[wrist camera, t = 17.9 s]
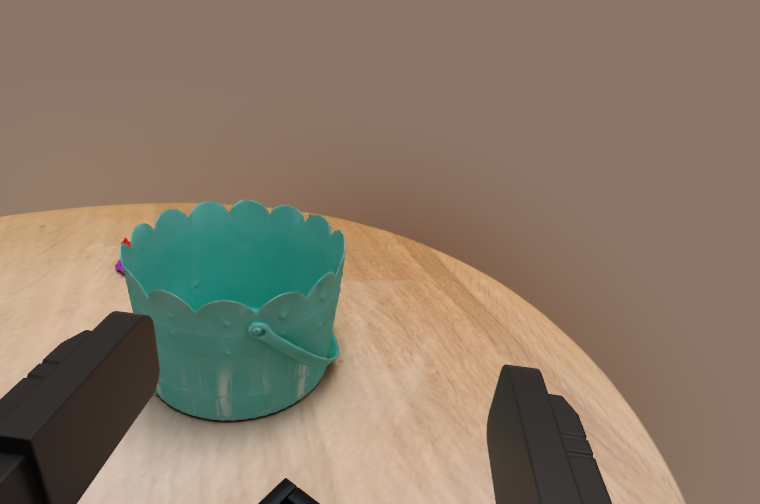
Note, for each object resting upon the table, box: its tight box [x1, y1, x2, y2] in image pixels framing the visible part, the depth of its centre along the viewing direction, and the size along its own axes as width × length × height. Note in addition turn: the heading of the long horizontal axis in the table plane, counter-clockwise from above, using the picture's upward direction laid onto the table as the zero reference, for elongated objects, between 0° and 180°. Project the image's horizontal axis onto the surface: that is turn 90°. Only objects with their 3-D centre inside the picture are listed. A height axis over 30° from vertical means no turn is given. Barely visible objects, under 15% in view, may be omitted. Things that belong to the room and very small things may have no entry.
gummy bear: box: [115, 238, 131, 273], centre depth 59 cm, size 5×3×4 cm, turn 8°
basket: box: [120, 200, 346, 421], centre depth 44 cm, size 19×18×13 cm
